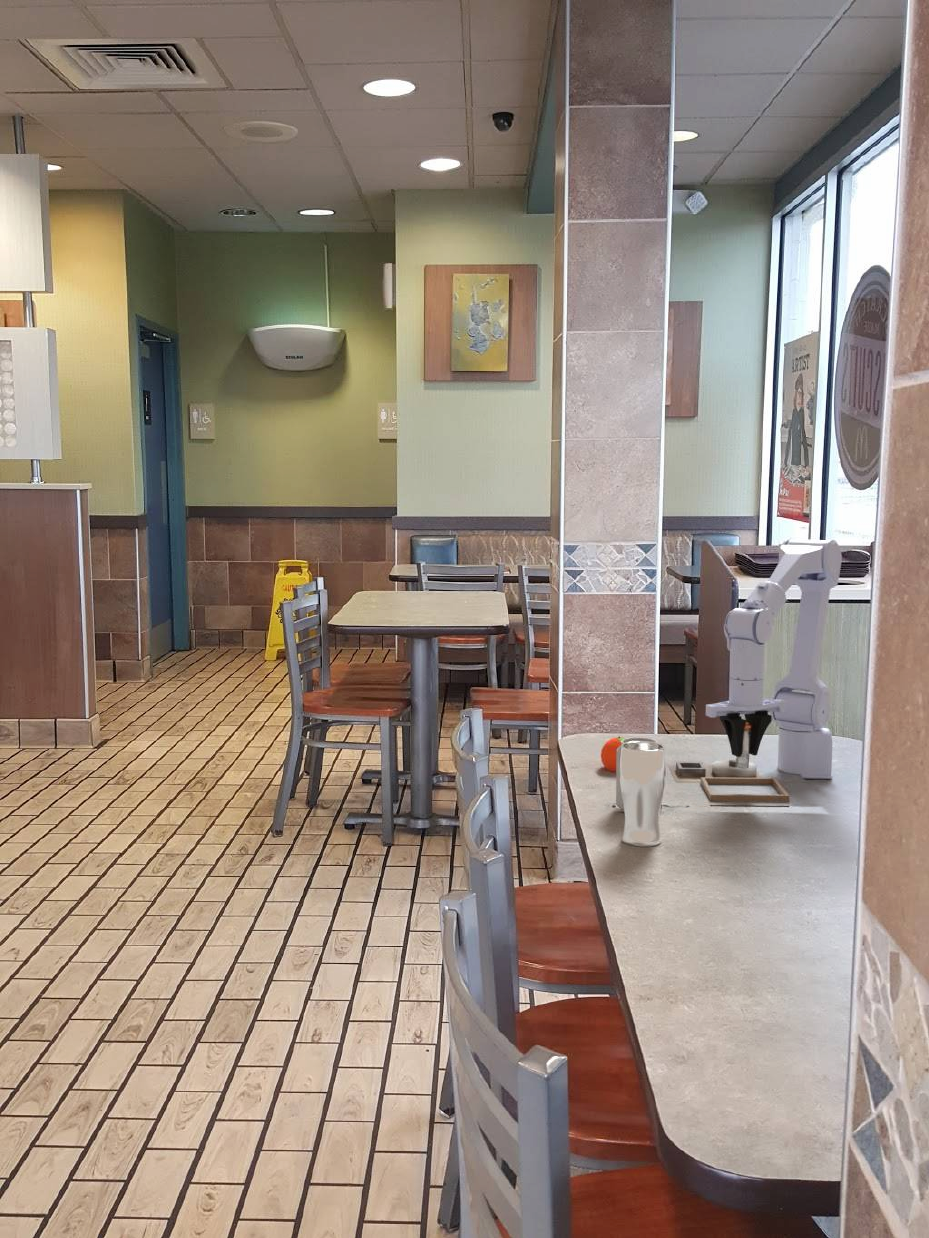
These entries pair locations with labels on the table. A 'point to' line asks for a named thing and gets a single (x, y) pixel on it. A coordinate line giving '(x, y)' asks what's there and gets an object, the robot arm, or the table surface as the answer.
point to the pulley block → (711, 771)
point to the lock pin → (745, 748)
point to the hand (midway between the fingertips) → (744, 754)
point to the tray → (744, 797)
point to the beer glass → (642, 791)
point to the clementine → (610, 753)
